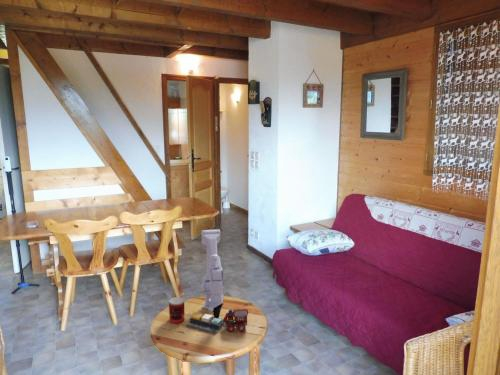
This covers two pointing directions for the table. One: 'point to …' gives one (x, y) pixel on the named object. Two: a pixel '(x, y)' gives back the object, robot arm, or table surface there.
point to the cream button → (207, 318)
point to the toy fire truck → (236, 320)
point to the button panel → (205, 325)
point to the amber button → (197, 316)
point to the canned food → (176, 310)
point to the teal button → (216, 321)
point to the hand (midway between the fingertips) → (216, 317)
